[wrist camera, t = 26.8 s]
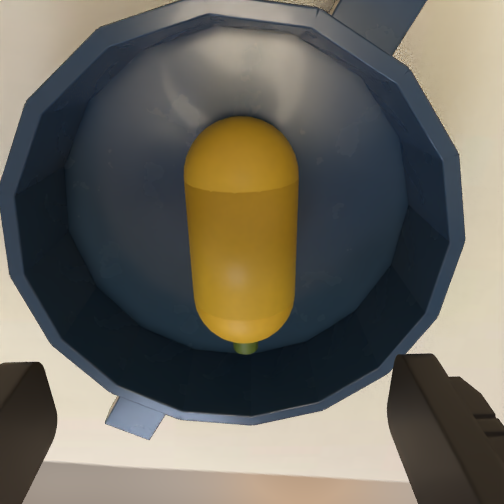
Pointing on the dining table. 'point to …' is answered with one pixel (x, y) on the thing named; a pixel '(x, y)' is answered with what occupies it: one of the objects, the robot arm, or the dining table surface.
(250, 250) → the squash
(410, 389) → the robot arm
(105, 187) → the pot
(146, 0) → the dining table surface
